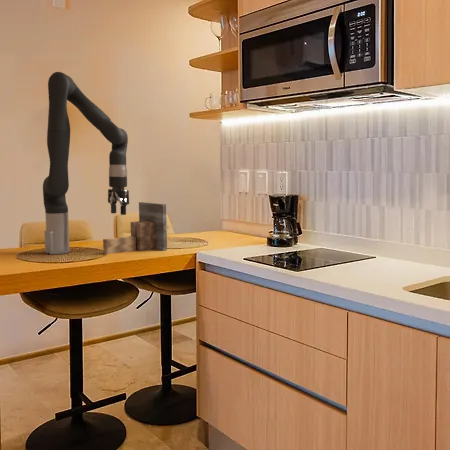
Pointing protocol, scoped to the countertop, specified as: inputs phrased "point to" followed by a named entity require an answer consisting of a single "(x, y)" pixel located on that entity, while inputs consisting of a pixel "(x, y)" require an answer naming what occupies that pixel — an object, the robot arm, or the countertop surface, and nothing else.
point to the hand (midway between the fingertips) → (118, 214)
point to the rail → (119, 244)
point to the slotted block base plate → (150, 227)
